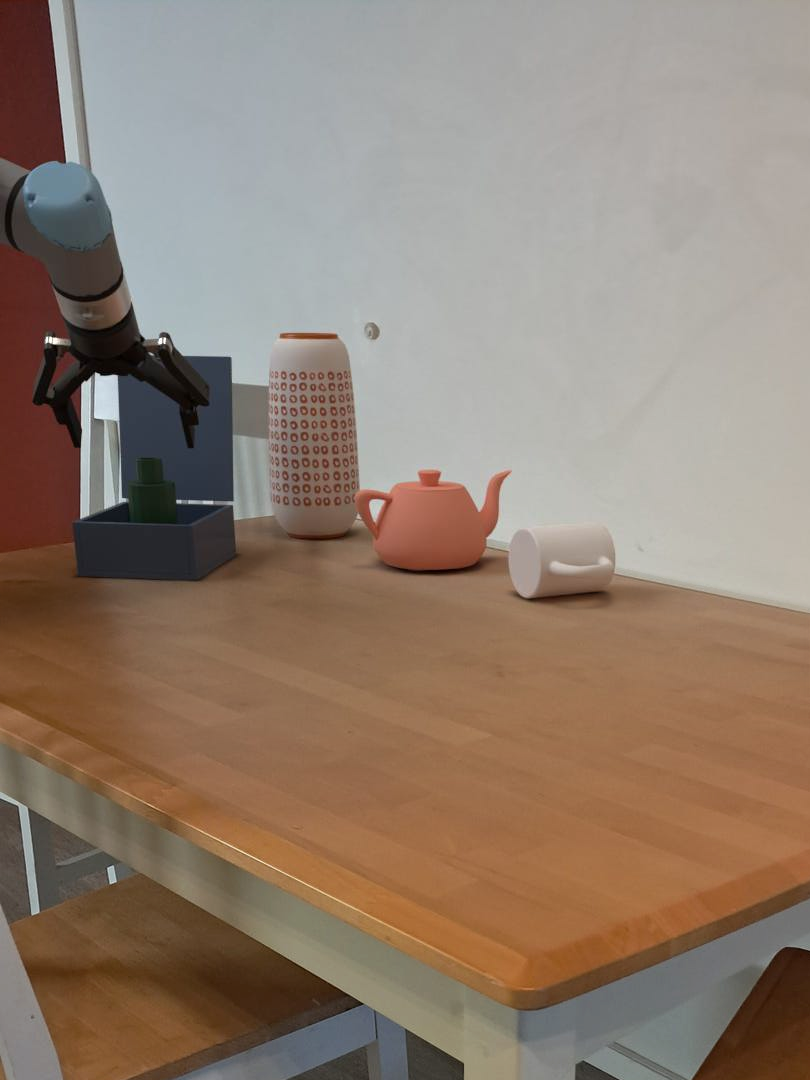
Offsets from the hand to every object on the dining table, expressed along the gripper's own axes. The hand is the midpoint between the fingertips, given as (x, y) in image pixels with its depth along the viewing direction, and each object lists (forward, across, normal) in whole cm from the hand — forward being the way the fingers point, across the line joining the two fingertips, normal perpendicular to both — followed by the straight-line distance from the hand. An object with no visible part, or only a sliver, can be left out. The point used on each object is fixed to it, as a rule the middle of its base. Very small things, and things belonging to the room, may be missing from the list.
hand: (135, 439), depth 156 cm
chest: (+18, 0, -6) cm, 19 cm away
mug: (+3, +52, -21) cm, 57 cm away
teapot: (+18, +37, -6) cm, 42 cm away
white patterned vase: (+34, +20, +10) cm, 41 cm away
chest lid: (+13, +2, +12) cm, 18 cm away
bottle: (+16, 0, -6) cm, 17 cm away
